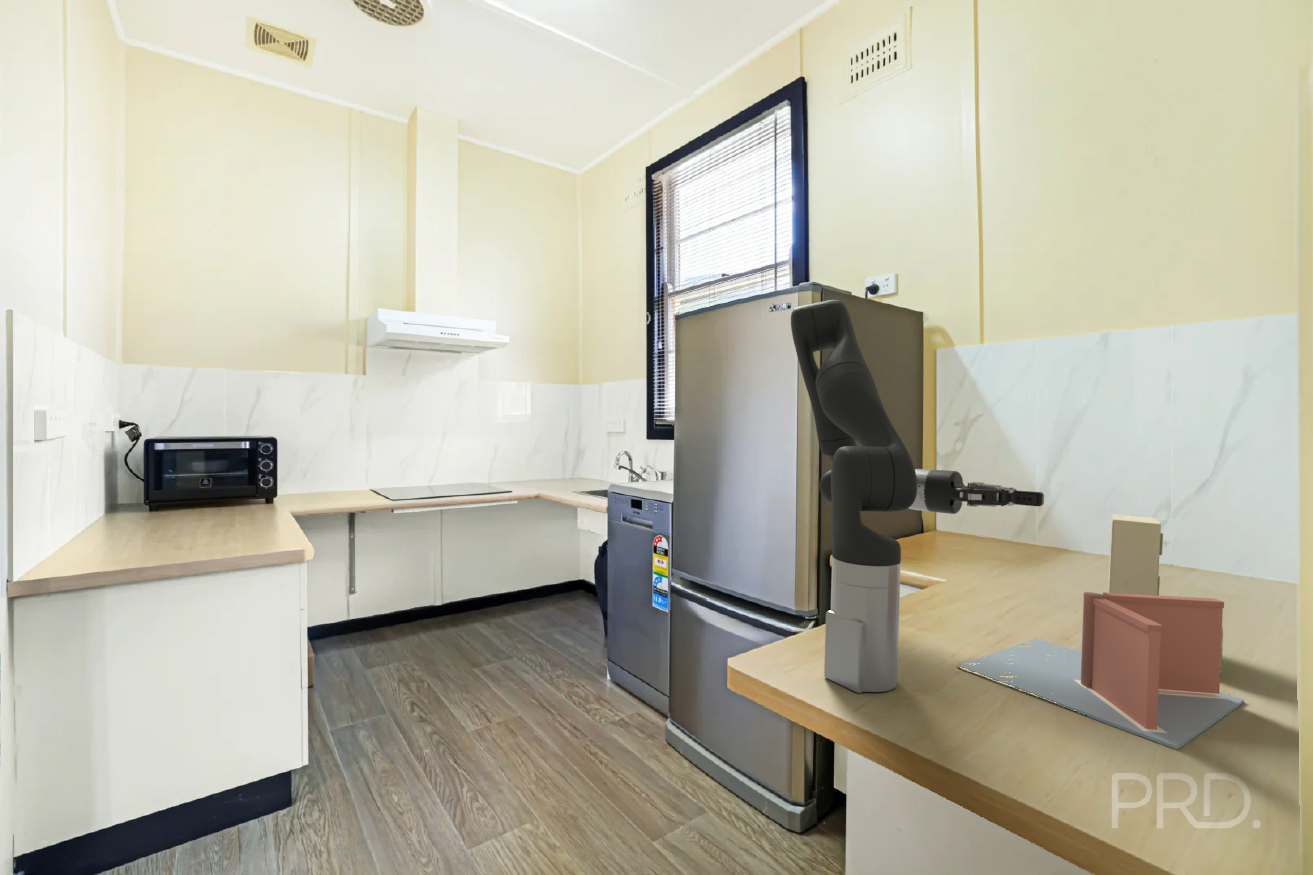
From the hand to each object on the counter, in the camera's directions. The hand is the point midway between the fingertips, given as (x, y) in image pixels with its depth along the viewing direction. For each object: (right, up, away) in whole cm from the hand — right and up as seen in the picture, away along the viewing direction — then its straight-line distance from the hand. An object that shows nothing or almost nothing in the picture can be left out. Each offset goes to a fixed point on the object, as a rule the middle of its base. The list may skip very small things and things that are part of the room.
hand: (1042, 499), depth 94 cm
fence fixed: (-1, -25, -17) cm, 30 cm away
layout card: (+1, -25, -10) cm, 27 cm away
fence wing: (+8, -25, -12) cm, 29 cm away
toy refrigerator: (+23, -26, +10) cm, 36 cm away
